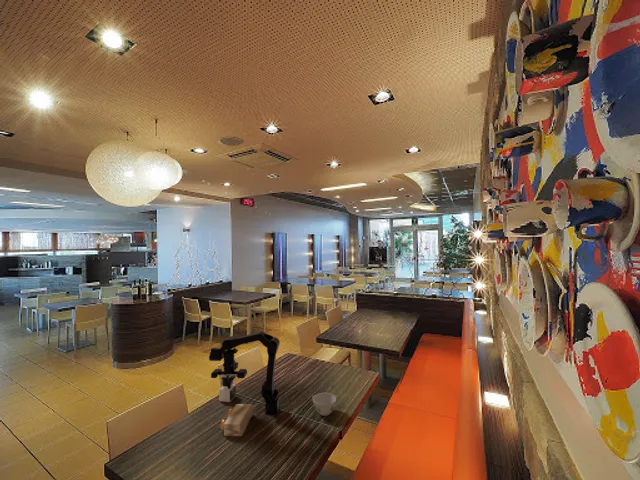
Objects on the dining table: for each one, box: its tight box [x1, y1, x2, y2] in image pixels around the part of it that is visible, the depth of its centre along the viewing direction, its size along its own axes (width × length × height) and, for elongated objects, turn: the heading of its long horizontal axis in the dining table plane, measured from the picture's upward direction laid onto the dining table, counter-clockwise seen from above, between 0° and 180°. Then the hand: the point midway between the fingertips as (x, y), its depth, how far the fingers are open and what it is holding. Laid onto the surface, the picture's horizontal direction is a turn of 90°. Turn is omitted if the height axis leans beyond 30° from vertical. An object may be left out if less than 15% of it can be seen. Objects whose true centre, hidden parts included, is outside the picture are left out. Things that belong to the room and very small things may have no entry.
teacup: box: [311, 392, 337, 417], centre depth 153 cm, size 15×12×8 cm
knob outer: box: [220, 418, 227, 431], centre depth 139 cm, size 10×4×4 cm, turn 86°
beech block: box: [223, 403, 253, 437], centre depth 144 cm, size 9×17×6 cm, turn 177°
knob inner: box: [227, 408, 234, 417], centre depth 148 cm, size 10×4×4 cm, turn 86°
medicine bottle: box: [218, 380, 237, 403], centre depth 169 cm, size 7×7×12 cm
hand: (229, 388), depth 157 cm, fingers closed
